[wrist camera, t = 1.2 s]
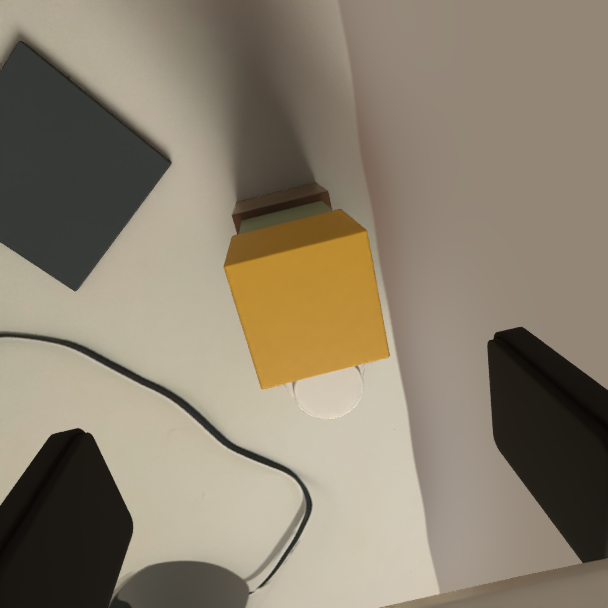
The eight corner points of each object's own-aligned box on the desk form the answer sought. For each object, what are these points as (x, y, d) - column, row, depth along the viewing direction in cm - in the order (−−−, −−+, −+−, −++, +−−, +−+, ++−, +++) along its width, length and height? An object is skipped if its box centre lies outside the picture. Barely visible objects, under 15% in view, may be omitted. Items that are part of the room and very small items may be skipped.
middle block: (322, 200, 29) (337, 214, 24) (338, 277, 31) (356, 307, 26) (241, 220, 29) (237, 239, 24) (262, 297, 31) (263, 331, 26)
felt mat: (23, 41, 30) (19, 40, 30) (172, 162, 34) (170, 163, 33) (-70, 192, 33) (-75, 192, 32) (77, 289, 36) (75, 292, 36)
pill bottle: (334, 362, 41) (360, 436, 30) (268, 351, 40) (272, 424, 29) (352, 299, 39) (386, 356, 29) (283, 286, 38) (293, 340, 28)
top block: (341, 208, 24) (367, 229, 18) (361, 310, 26) (390, 358, 20) (231, 236, 23) (222, 265, 18) (260, 336, 26) (261, 390, 20)
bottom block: (316, 182, 35) (328, 190, 29) (332, 259, 37) (347, 282, 31) (236, 202, 35) (231, 214, 29) (257, 278, 37) (257, 305, 31)
